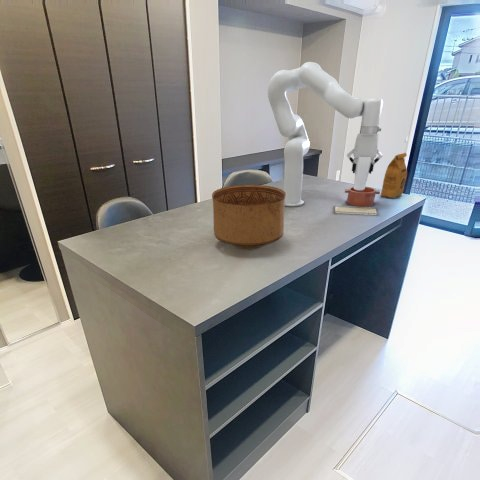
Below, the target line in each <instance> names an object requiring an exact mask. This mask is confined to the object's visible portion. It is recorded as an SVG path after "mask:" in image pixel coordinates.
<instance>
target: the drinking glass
mask: <svg viewBox="0 0 480 480" xmlns="http://www.w3.org/2000/svg"><path fill="white" fill-rule="evenodd" d="M370 166H371V157H359V158H358V159H357V161H356V168H355V173H354V180H353V187H354V189H355V190H364V189H365V187H366V185H367V182H368V181H367V180H368V177H369V174H370V173H369V170H370Z"/></svg>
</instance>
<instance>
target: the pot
mask: <svg viewBox="0 0 480 480" xmlns="http://www.w3.org/2000/svg"><path fill="white" fill-rule="evenodd" d="M285 197H286V193H285V192H284V191H283V189H282V188H278V187H274V186H271V185H262V184H238V185H230V186H225V187H221V188H219V189H216V190H214V191H213V192H212V194H211V198H212V209H213V210H212V213H213V235H214V238H216V239H217V240H218V241H220V242H222V243H224V244H227V245H230V246H234V247H238V248H241V249H247V250H248V249H249V250H250V249H257V248H259V247H264V246H266V245H269V244H273V243H276V242H277V241H279V240H280V239H281V238H283V236H284V230H285V206H284V205H285Z"/></svg>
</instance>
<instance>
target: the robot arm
mask: <svg viewBox="0 0 480 480" xmlns="http://www.w3.org/2000/svg"><path fill="white" fill-rule="evenodd" d="M304 88H305V89H306V88H307V89H310V90H311V91H312V92H313V93H314V94H316V95H317V96H319V97H320V98H321V99H323V100H324V101H325V102H326V103H327V104H328V105H329V106H331V108H333V109H334V110H335V111H337V112H338V113H339V114H341V115H342V116H344V117H345V118H347V119H355V118H357V117H361V122H360V127H359V128H360V129H359V133H357V135H356V138H355V142H354V147H353V149H351V150H350V151H349V152H348V153H346V157H347V158H348V160H349V161H350V163H352V166H351V172H352V174H355V168H356V161H357V159H358V158H359V157H371V166H370V170H369V173H368V174H372V172H374V167H375V164H377V162H379V161H380V160H381V159H382V158H383V157H384V154H382V152H381V151H380V150H379V149H378V147H379V133H378V132H382V127H380V126H379V125H380V120H381V114H382V109H383V99H382V98H381V97H371V98H365V97H354V96H353V95H351V94H350V93H348V92H347V91H346V90H344V89H343V88H342V87H341V86H340V84H339V82H338V80H337V79H336V78H335V77H333V76H332V75H330V74H329V73H327V72H326V71H325V70H323V69H322V67H321V66H320V64H319V63H317V62H313V61H306V62H304V63H303V64H302V65H301V66H300V67H296V68H294V69H281V70H278V71H276V72H275V73H274V74H273V75H272V77H271V78H270V80H269V82H268V85H267V98H268V101H269V104H270V108H271V111H272V113H273V116H274V120H275V123H276V125H277V128H278V131H279V133H280V135H281V136H283V137H284V138H288V141H287V142H286V143H285V145H284V148H283V157H284V158H283V160H284V169H283V171H284V172H283V189H282V190H283V191H284V192H285V193H286V197H285V205H284V207H299V206H300V207H301V206H303V205H304V200H302V189H303V188H302V187H303V178H304V177H303V175H304V156H305V155H307V154H308V152H309V150H310V141H309V140H310V139H309V137H308V134H307V130H306V127H305V124H304V122H303V119H302V117H300V115H299V114H296V113H294V111H293V109H292V107H291V104H290V101H289V99H288V97H287V93H290V92H294V91H298V90H302V89H304ZM352 155H353V157H352ZM377 155H378V156H377Z"/></svg>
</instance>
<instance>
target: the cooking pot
mask: <svg viewBox="0 0 480 480" xmlns="http://www.w3.org/2000/svg"><path fill="white" fill-rule="evenodd" d="M344 193H345V194H347V198H346V204H348V206H352V207H373V205H374V203H375V198H376V195H381V191H380V190H379V189H376V188H373V187H370V186H365V189H364V190H355V189H354V186H351V187H349V188H345V189H344Z"/></svg>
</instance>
